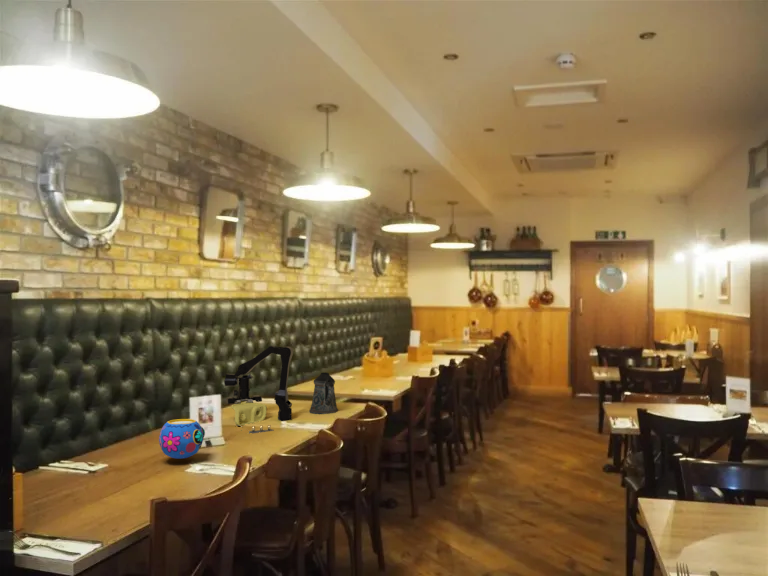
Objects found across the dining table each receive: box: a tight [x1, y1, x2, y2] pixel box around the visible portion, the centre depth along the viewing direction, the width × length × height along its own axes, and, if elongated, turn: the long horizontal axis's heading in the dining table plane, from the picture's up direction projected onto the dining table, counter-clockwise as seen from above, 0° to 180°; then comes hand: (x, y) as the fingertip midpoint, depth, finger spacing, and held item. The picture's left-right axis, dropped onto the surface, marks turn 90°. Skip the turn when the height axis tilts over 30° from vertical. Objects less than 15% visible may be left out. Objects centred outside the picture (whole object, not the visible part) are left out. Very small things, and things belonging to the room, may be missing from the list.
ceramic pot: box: [158, 418, 206, 460], centre depth 268 cm, size 18×18×15 cm
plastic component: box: [231, 402, 268, 427], centre depth 347 cm, size 20×7×10 cm, turn 144°
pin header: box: [248, 424, 274, 434], centre depth 322 cm, size 12×2×3 cm, turn 117°
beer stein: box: [308, 372, 339, 415], centre depth 371 cm, size 16×19×25 cm
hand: (243, 415), depth 353 cm, fingers closed
